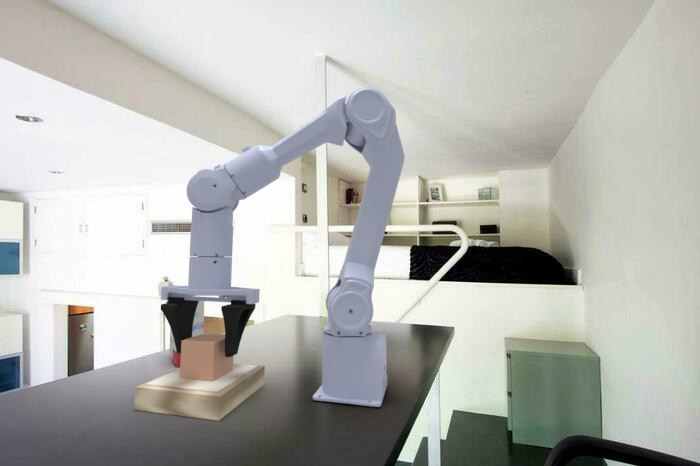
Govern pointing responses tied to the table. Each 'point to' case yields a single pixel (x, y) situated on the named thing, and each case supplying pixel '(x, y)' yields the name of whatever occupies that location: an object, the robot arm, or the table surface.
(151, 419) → the table surface
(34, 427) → the table surface
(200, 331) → the ink box
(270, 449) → the table surface
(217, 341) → the terracotta cube
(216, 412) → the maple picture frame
